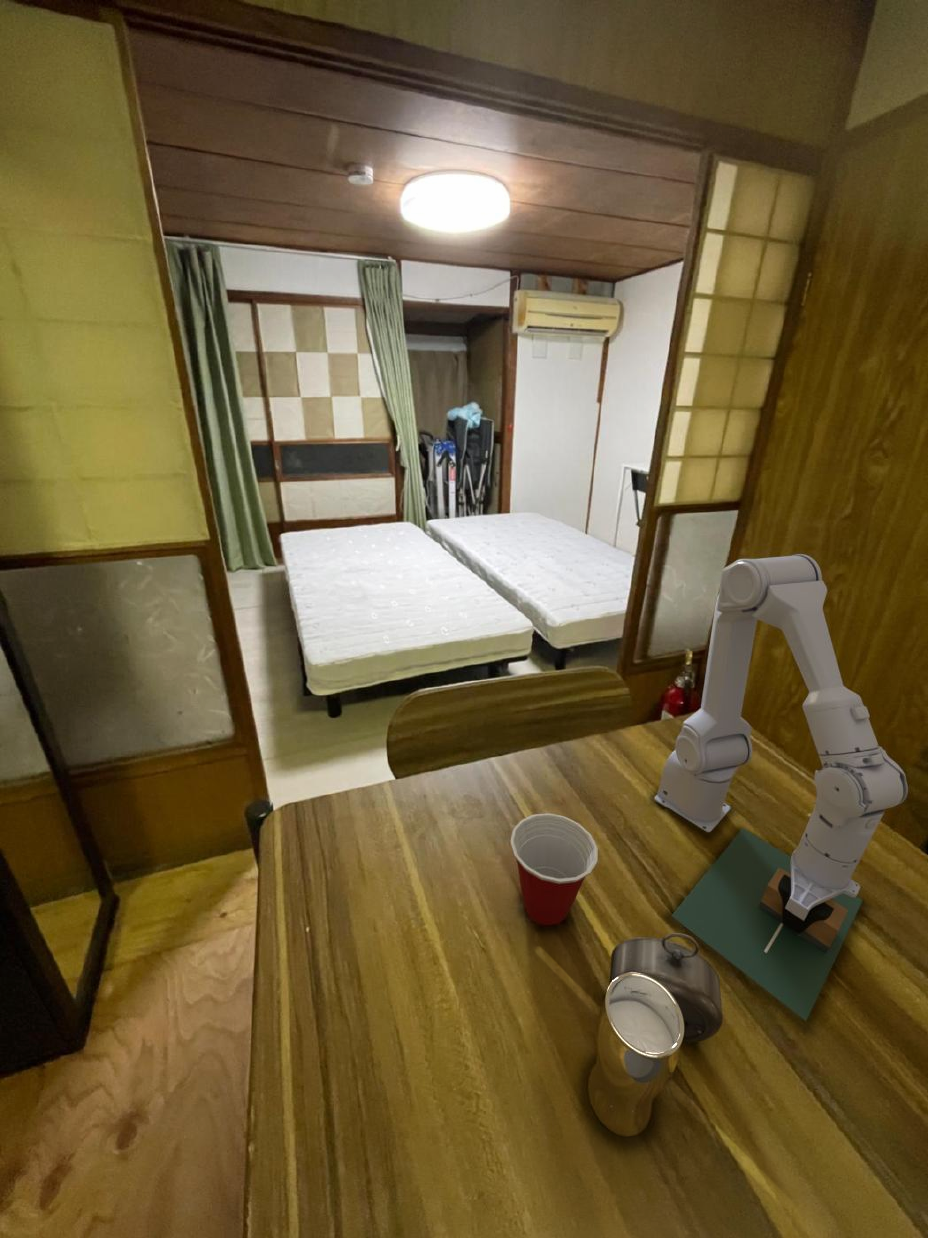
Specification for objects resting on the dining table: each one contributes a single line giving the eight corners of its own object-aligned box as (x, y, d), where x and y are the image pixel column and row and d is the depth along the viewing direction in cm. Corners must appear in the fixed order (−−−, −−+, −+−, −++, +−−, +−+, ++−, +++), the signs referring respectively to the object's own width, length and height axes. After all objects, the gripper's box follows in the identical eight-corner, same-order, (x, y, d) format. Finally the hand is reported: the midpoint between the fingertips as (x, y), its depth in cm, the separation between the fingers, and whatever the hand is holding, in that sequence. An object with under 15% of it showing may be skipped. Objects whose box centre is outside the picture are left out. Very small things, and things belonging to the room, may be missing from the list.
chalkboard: (670, 919, 67) (671, 916, 67) (741, 830, 81) (742, 828, 80) (804, 1024, 57) (806, 1021, 56) (861, 903, 70) (863, 900, 70)
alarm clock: (704, 1019, 57) (741, 927, 50) (708, 1076, 52) (749, 984, 45) (603, 983, 60) (625, 892, 53) (599, 1034, 56) (621, 942, 48)
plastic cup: (594, 888, 71) (606, 826, 66) (576, 960, 63) (587, 896, 57) (521, 859, 75) (526, 798, 70) (493, 923, 67) (497, 860, 61)
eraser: (758, 907, 68) (767, 884, 66) (770, 889, 71) (779, 867, 69) (826, 953, 63) (838, 931, 61) (836, 932, 65) (848, 910, 64)
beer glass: (574, 1057, 54) (592, 972, 47) (639, 1051, 54) (665, 966, 48) (595, 1147, 48) (619, 1065, 41) (668, 1139, 48) (702, 1056, 41)
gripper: (853, 904, 54) (812, 980, 60) (889, 831, 62) (850, 903, 68) (781, 860, 58) (750, 934, 64) (823, 797, 67) (792, 868, 73)
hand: (797, 916), depth 67 cm, fingers closed on eraser, 4 cm apart
